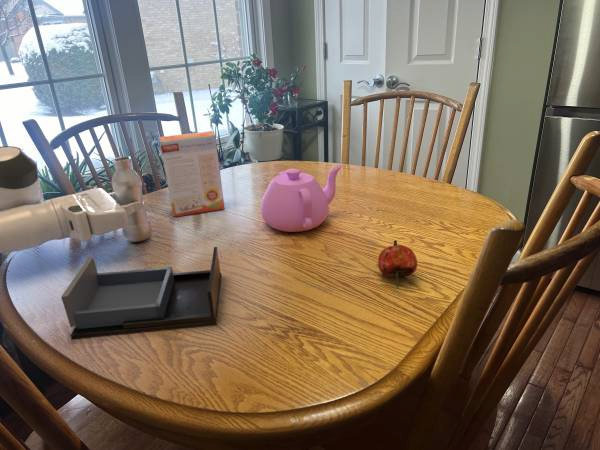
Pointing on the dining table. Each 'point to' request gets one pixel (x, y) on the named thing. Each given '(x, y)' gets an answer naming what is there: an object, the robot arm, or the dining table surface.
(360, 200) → the dining table surface
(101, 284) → the gray sliding drawer
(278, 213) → the teapot
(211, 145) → the cracker box
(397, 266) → the pomegranate
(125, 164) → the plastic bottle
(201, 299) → the base
